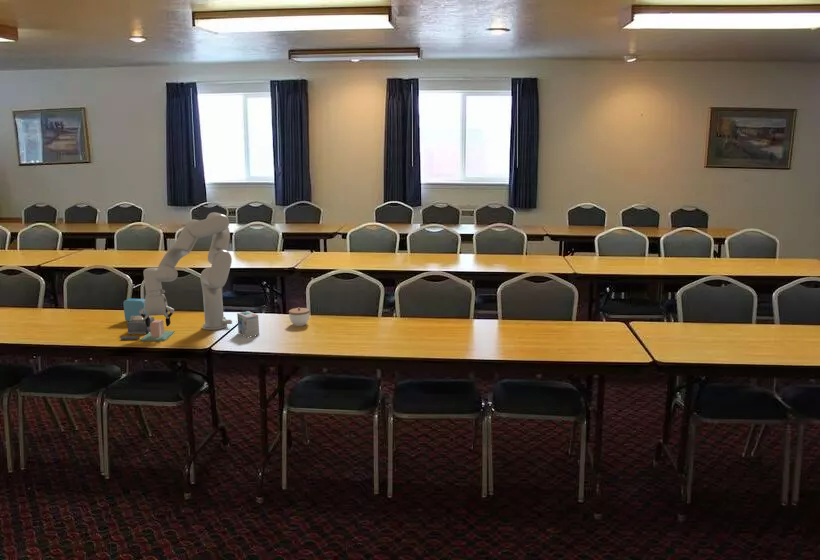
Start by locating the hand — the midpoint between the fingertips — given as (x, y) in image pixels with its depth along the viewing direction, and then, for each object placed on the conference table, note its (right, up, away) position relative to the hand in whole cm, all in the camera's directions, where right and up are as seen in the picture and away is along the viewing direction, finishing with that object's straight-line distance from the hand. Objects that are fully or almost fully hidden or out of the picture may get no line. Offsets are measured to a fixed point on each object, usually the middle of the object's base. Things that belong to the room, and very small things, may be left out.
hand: (158, 325), depth 329 cm
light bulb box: (+44, -5, +3) cm, 45 cm away
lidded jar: (+67, -1, +20) cm, 70 cm away
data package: (-23, 0, +30) cm, 38 cm away
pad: (-1, -5, +1) cm, 5 cm away
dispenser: (-13, -4, +6) cm, 15 cm away
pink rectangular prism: (-1, -5, +1) cm, 5 cm away
